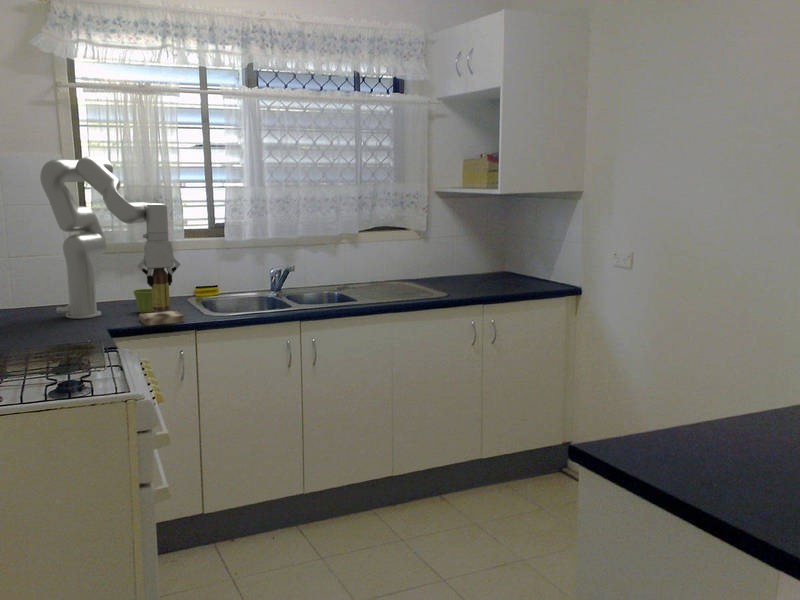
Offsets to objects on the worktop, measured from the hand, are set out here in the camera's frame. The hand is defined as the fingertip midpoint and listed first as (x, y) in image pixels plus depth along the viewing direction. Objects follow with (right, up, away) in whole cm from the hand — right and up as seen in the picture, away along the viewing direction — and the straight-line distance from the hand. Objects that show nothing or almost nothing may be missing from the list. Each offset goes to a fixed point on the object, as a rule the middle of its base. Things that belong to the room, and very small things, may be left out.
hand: (159, 285), depth 277 cm
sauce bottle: (0, -10, +2) cm, 10 cm away
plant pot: (-12, -11, +21) cm, 26 cm away
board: (0, -14, +2) cm, 14 cm away
